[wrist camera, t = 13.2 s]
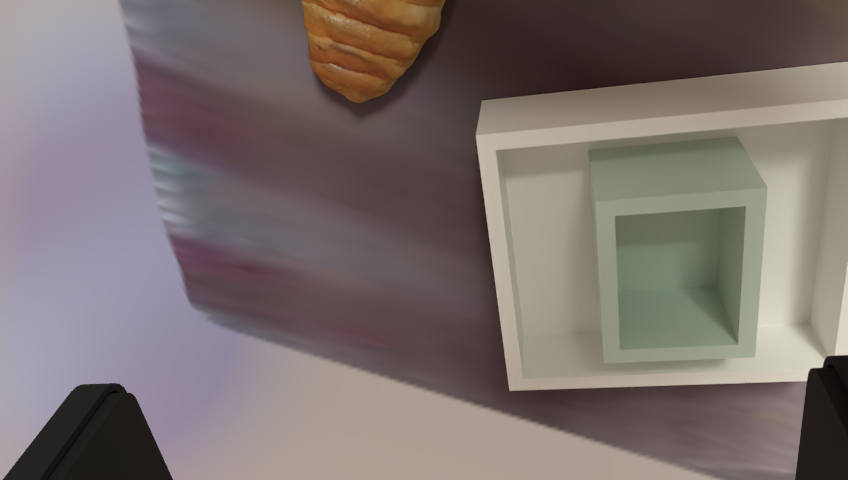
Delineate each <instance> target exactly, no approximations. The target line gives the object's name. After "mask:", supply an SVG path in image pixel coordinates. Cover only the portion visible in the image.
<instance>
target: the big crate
mask: <svg viewBox="0 0 848 480" xmlns="http://www.w3.org/2000/svg"><path fill="white" fill-rule="evenodd" d="M735 136H737V137H738V138H739V140H740V142H741V143H742V145H743V147H744V148H745V150H746V152H747V154H748V155H749V157H750V159H751V160H752V162H753V164H754V165H755V167H756V169H757V171H758V172H759V174H760V176H761V177H762V179H763V181H764V183H765V184H766V186H767V202H766V215H765V229H764V243H763V257H762V271H761V284H760V298H759V312H758V326H757V340H756V353H755V357H753V358H728V359H703V360H678V361H653V362H628V363H604V361H603V352H602V344H601V335H600V327H599V318H598V310H597V301H596V286H595V268H594V250H593V232H592V214H591V196H590V178H589V161H588V150H595V149H606V148H617V147H627V146H638V145H649V144H660V143H671V142H681V141H692V140H703V139H714V138H724V137H735ZM476 141H477V149H478V156H479V164H480V172H481V179H482V187H483V194H484V202H485V209H486V217H487V225H488V232H489V240H490V247H491V255H492V263H493V270H494V278H495V285H496V293H497V300H498V308H499V316H500V323H501V331H502V338H503V346H504V354H505V361H506V369H507V376H508V384H509V391H518V390H548V389H579V388H609V387H640V386H670V385H700V384H731V383H761V382H792V381H807V378H808V373H809V371H810V369H812V368H823V363H824V360H825V359H826V357H828V356H837V355H848V62H839V63H830V64H820V65H811V66H801V67H792V68H783V69H773V70H764V71H754V72H745V73H736V74H726V75H717V76H707V77H698V78H689V79H679V80H670V81H660V82H651V83H642V84H632V85H623V86H613V87H604V88H595V89H585V90H576V91H566V92H557V93H548V94H538V95H529V96H519V97H510V98H501V99H491V100H482V103H481V109H480V114H479V120H478V126H477V131H476Z"/></svg>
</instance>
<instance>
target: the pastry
mask: <svg viewBox="0 0 848 480" xmlns="http://www.w3.org/2000/svg"><path fill="white" fill-rule="evenodd" d="M444 3H445V0H302V6H303V10H304V26H305V28H306V30H307V37H308V41H309V61H310V63H311V66H312V68H313V71H314V72H315V74H316V75H317V76H318V77H319V78H320V80H321V81H322V82H323V83H324V84H325V85H327V86H328V87H330V88H331V89H333V90H334V91H336V92H338V93H340V94H342V95H344V96H345V97H346V98H347V99H349V100H350V101H353V102H355V103H362V102H365V101H367V100H369V99H372V98H375V97H379V96H381V95H383V94H385V93H386V92H388V91H389V89H390V88H391V87H392V85H393V84H394V83H395V82H396V80H397V78H399V77H400V76H402V75H403V74H404V73H405V71H406V69H408V68H409V67H410V66H411V65H412V64H413V62H414V60H415V59H416V57H417V56H418V54H419V52H420V50H421V48H422V45H423V44H424V43H425V41H426V40H427V39H428V38H429V37H431V36H432V35H433V34H434V33H435V32H436V31H437V30H438V28H439V25H440V21H441V10H442V7H443V5H444Z"/></svg>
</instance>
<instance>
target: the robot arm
mask: <svg viewBox="0 0 848 480" xmlns="http://www.w3.org/2000/svg"><path fill="white" fill-rule="evenodd" d="M3 480H173V479H172V477H171V475H170V472H169V470H168V468H167V466H166V464H165V462H164V459H163V457H162V455H161V453H160V450H159V448H158V446H157V444H156V441H155V439H154V437H153V435H152V433H151V431H150V428H149V426H148V424H147V422H146V419H145V417H144V415H143V413H142V411H141V408H140V406H139V404H138V402H137V400H136V398H135V396H134V395H133V394H131V393H127V392H126V390H125V388H124V387H122V386H121V385H120V384H115V383H110V384H86V385H85V384H84V385H80V386H77V387H76V388H75V389H74V390H73V391H72V392H71V393H70V394H69V395H68V397H67V398H66V399H65V400H64V402H63V403H62V404H61V406H60V407H59V408H58V410H57V411H56V412H55V413H54V415H53V416H52V417H51V419H50V420H49V421H48V422H47V424H46V425H45V426H44V427H43V429H42V430H41V431H40V433H39V434H38V435H37V436H36V438H35V439H34V440H33V442H32V443H31V444H30V445H29V447H28V448H27V449H26V451H25V452H24V453H23V454H22V456H21V457H20V458H19V460H18V461H17V462H16V464H15V465H14V466H13V467H12V469H11V470H10V471H9V472H8V474H7V475H6V476H5V478H4V479H3ZM795 480H848V355H837V356H828V357H826V359H825V360H824V363H823V368H812V369H810V371H809V373H808V378H807V386H806V395H805V403H804V411H803V420H802V428H801V436H800V445H799V453H798V461H797V470H796V478H795Z"/></svg>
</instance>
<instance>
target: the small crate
mask: <svg viewBox="0 0 848 480" xmlns="http://www.w3.org/2000/svg"><path fill="white" fill-rule="evenodd" d="M588 161H589V178H590V196H591V214H592V232H593V250H594V268H595V286H596V301H597V310H598V318H599V327H600V335H601V344H602V352H603V361H604V363H628V362H653V361H678V360H703V359H728V358H753V357H755V353H756V340H757V326H758V312H759V298H760V284H761V271H762V257H763V243H764V229H765V215H766V202H767V186H766V184H765V183H764V181H763V179H762V177H761V176H760V174H759V172H758V171H757V169H756V167H755V165H754V164H753V162H752V160H751V159H750V157H749V155H748V154H747V152H746V150H745V148H744V147H743V145H742V143H741V142H740V140H739V138H738V137H737V136H735V137H724V138H714V139H703V140H692V141H681V142H671V143H660V144H649V145H638V146H627V147H617V148H606V149H595V150H588Z"/></svg>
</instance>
